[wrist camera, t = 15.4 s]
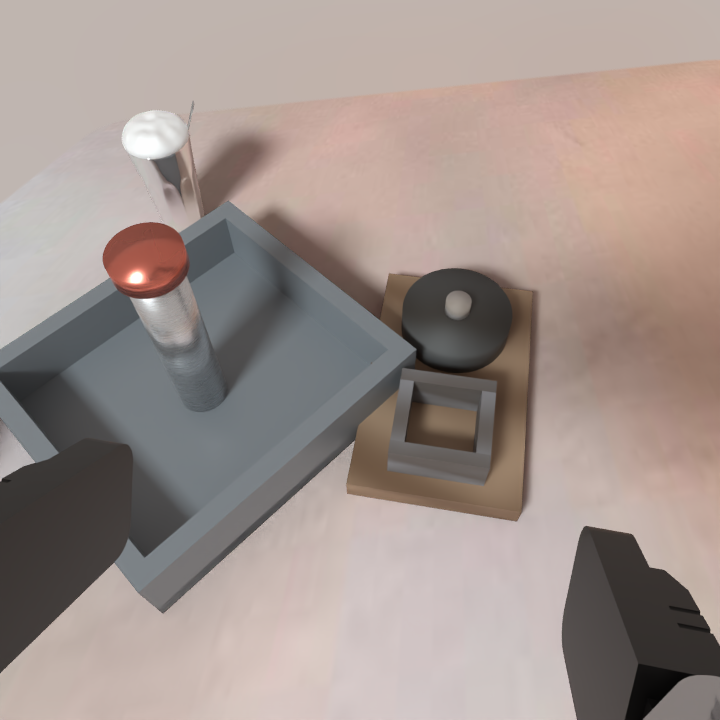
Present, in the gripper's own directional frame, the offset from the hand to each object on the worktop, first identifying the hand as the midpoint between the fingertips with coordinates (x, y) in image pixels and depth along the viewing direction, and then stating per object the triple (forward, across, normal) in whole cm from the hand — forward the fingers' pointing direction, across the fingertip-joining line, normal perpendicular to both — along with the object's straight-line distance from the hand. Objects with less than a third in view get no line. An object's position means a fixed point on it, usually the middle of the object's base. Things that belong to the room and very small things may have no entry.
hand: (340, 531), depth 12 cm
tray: (+29, +14, +8) cm, 33 cm away
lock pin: (+28, +14, +7) cm, 32 cm away
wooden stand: (+32, -1, +6) cm, 32 cm away
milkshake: (+40, +20, -3) cm, 45 cm away
